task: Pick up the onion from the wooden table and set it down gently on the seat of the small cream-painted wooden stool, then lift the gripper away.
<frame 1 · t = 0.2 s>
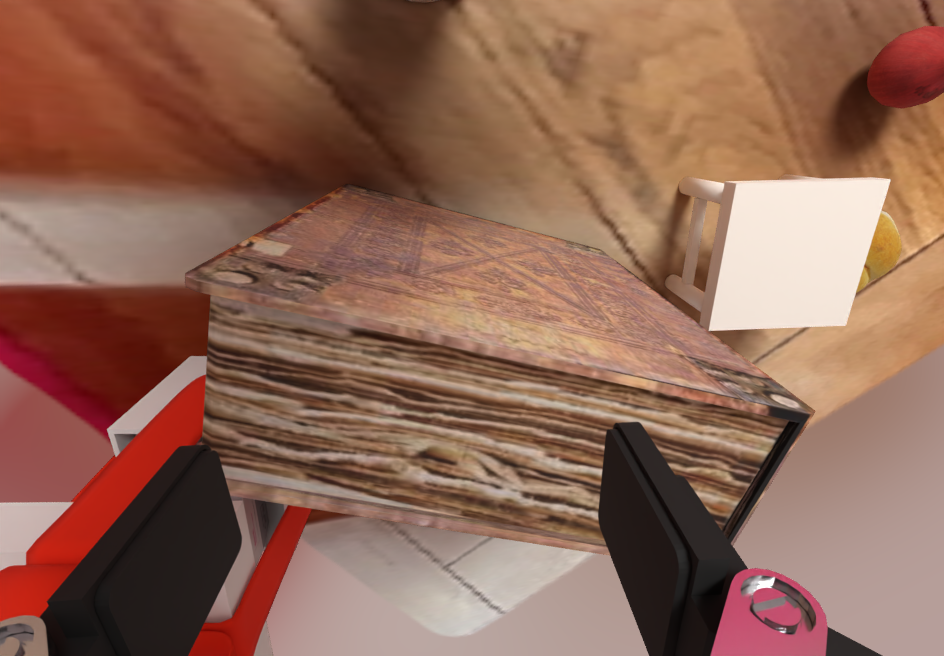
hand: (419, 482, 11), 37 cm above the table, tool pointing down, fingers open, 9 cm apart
bread roll: (837, 250, 49), on the table
gift wrap: (263, 409, 52), on the table
onion: (874, 74, 42), on the table
book: (467, 261, 47), on the table
stool: (726, 234, 47), on the table
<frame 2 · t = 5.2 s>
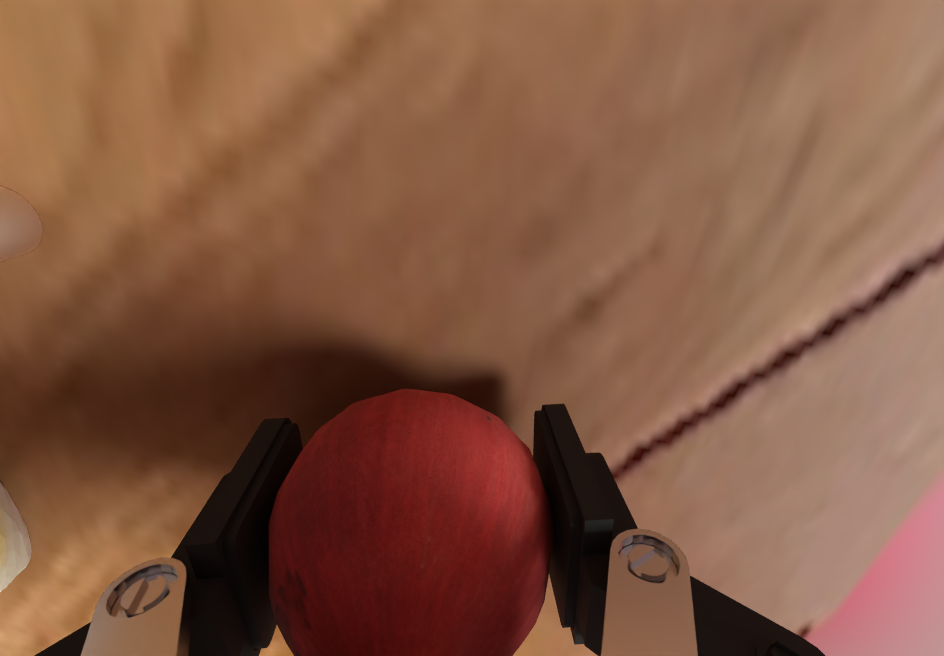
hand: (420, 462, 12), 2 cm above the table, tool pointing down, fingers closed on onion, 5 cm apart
onion: (423, 422, 14), on the table, touching gripper
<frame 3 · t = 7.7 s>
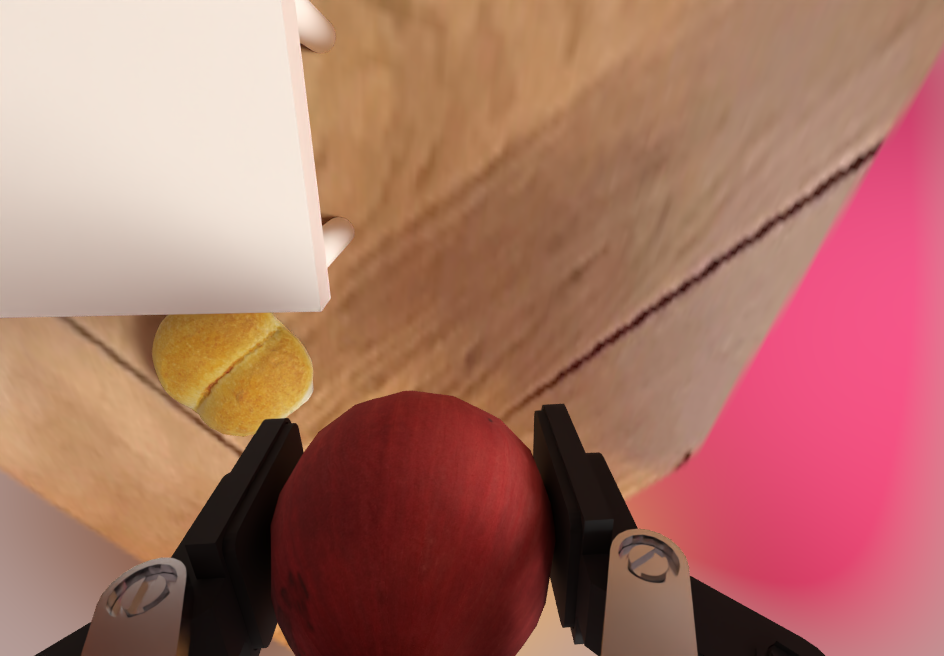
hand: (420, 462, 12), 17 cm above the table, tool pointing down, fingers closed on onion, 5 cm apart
bread roll: (247, 356, 30), on the table
onion: (424, 424, 14), point 15 cm above the table, touching gripper
stool: (237, 140, 25), on the table
when the fingers open (13 cm above the table, at t = 10.1 s): onion drops 1 cm, resting on stool.
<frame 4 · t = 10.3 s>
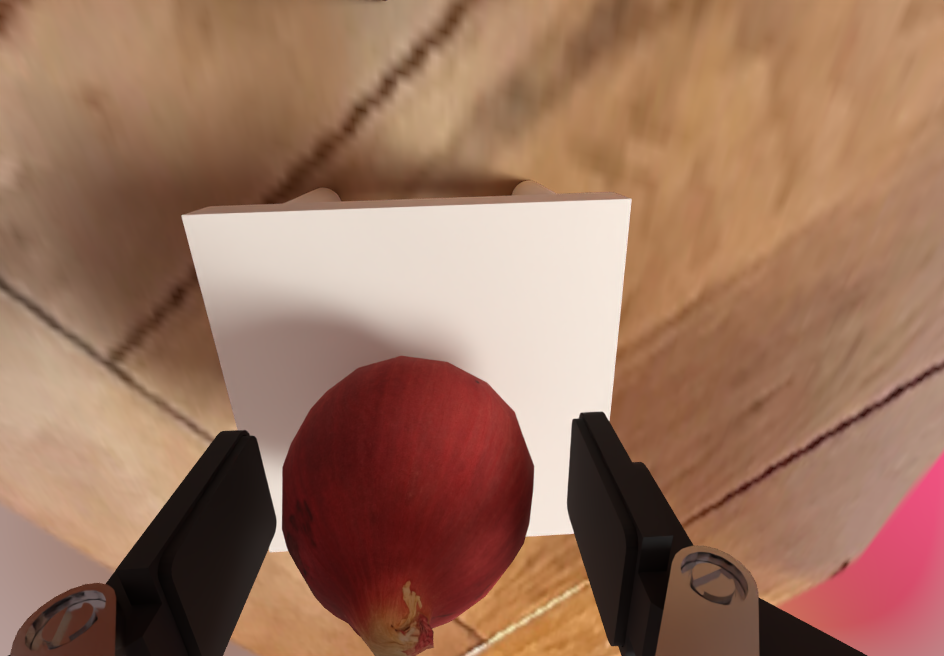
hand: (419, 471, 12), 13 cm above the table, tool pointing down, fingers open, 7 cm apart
onion: (424, 395, 15), point 10 cm above the table, touching stool
stool: (433, 297, 24), on the table
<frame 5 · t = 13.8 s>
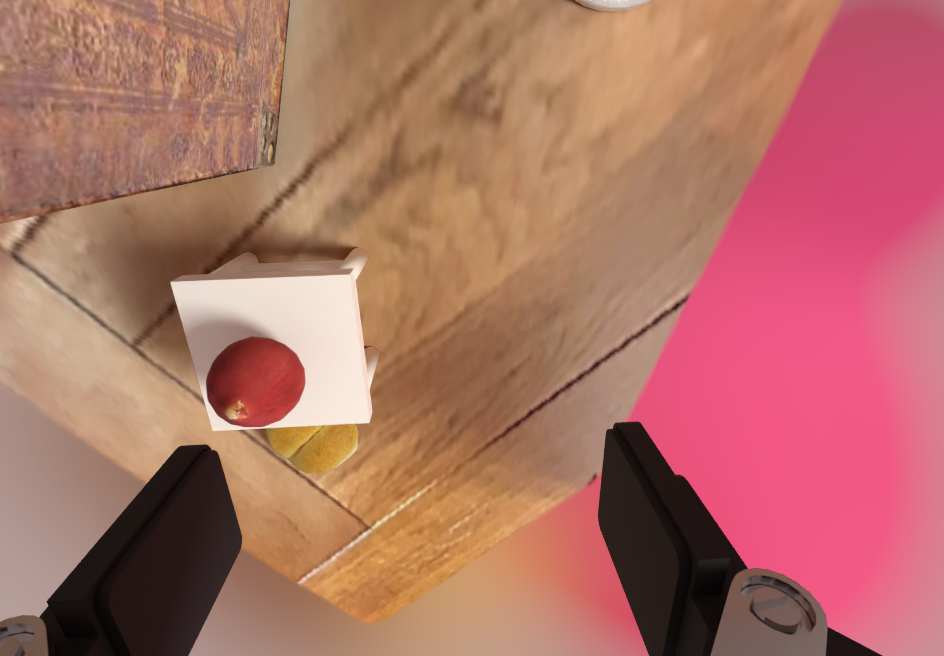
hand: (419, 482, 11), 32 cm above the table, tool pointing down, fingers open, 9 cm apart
bread roll: (317, 424, 49), on the table
onion: (277, 355, 34), point 10 cm above the table, touching stool
stool: (313, 309, 43), on the table
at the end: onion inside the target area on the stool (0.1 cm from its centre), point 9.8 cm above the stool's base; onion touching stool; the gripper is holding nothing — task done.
